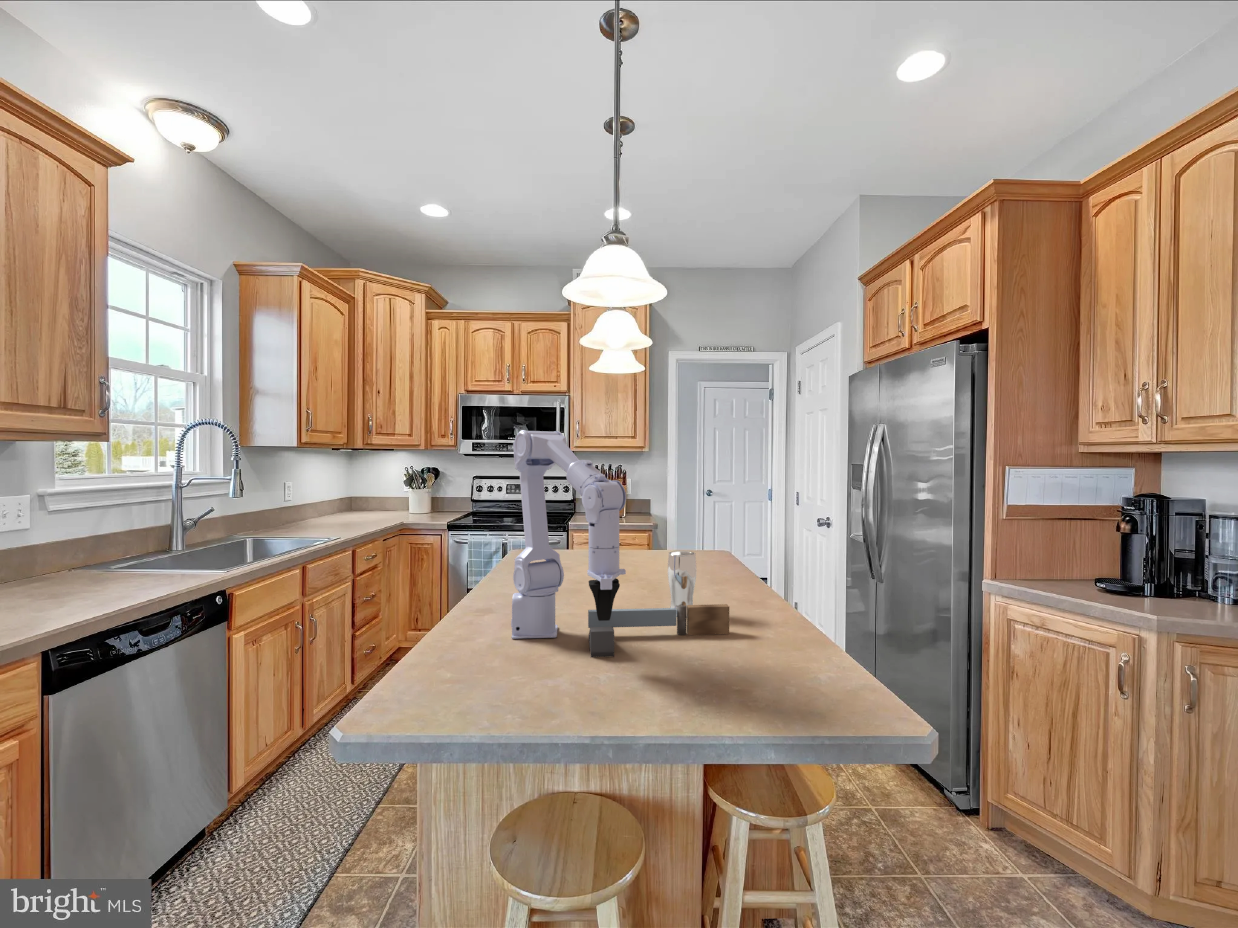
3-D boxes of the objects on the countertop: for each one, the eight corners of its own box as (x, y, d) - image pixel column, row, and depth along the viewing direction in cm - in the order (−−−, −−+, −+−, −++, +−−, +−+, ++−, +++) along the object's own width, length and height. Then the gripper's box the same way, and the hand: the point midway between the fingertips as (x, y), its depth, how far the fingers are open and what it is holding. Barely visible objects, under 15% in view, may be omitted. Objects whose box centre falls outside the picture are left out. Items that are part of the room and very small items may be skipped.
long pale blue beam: (588, 627, 122) (588, 611, 122) (588, 625, 124) (588, 609, 124) (676, 625, 124) (676, 609, 124) (675, 623, 126) (675, 607, 126)
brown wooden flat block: (677, 635, 124) (678, 607, 124) (676, 632, 126) (676, 605, 126) (729, 633, 125) (729, 606, 125) (726, 631, 127) (726, 604, 127)
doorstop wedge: (614, 656, 111) (614, 630, 111) (590, 657, 111) (590, 631, 111) (610, 639, 121) (610, 616, 121) (588, 640, 121) (588, 616, 120)
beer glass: (697, 618, 137) (698, 555, 136) (668, 618, 137) (668, 555, 136) (694, 610, 144) (694, 550, 143) (666, 610, 144) (666, 550, 143)
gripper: (629, 552, 99) (629, 630, 100) (621, 540, 114) (621, 608, 114) (588, 553, 99) (588, 631, 99) (586, 540, 113) (586, 609, 113)
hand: (603, 619), depth 106 cm, fingers closed
